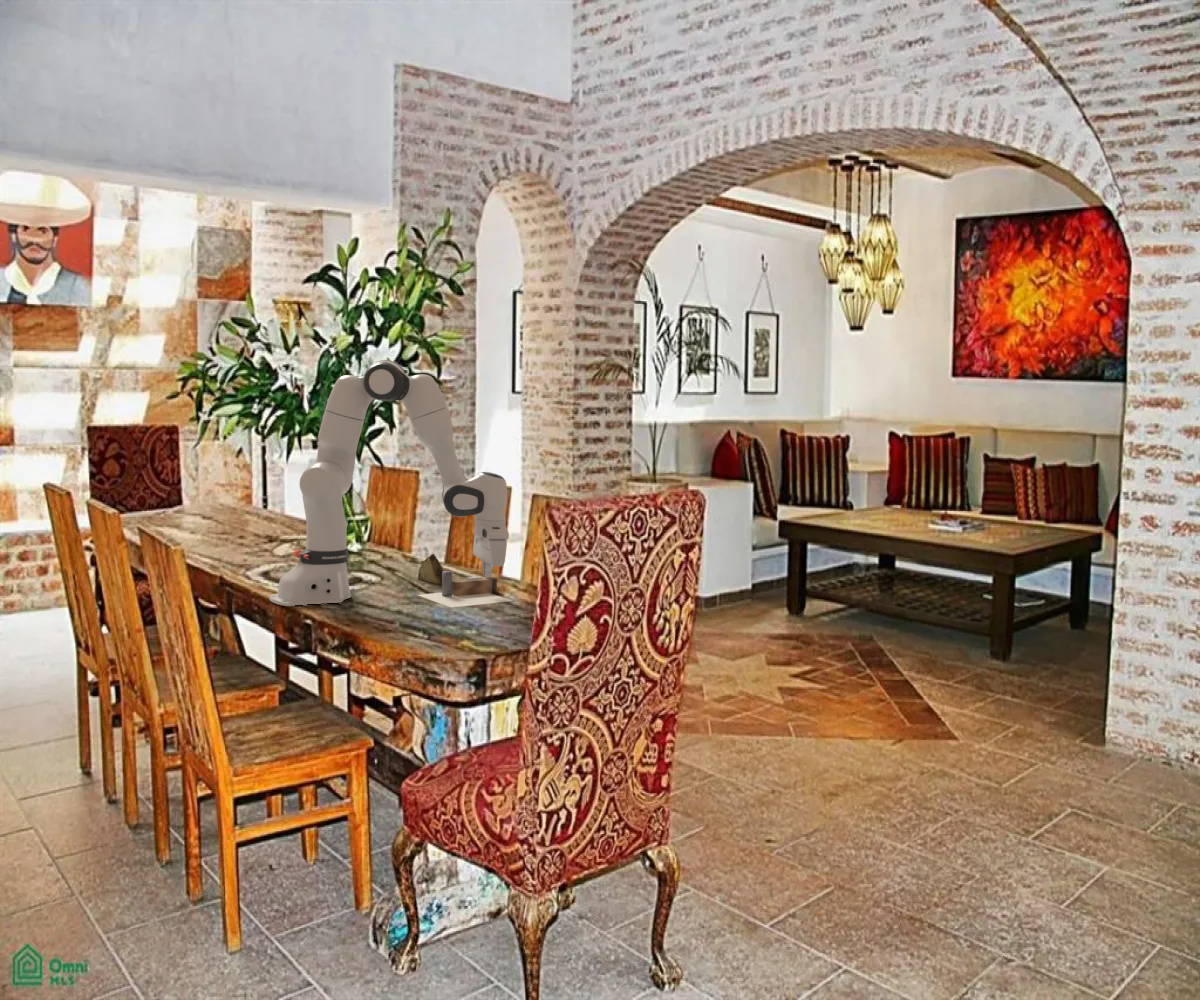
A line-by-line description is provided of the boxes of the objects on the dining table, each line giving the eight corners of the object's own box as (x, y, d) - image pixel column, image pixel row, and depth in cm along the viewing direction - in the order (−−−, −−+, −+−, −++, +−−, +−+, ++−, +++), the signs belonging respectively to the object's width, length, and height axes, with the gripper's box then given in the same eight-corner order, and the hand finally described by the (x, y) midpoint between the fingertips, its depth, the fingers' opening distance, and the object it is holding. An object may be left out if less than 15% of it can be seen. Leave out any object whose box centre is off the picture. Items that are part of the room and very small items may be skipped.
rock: (408, 573, 349) (415, 575, 340) (424, 551, 351) (431, 552, 342) (435, 593, 352) (443, 595, 343) (451, 571, 354) (459, 572, 345)
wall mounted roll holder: (451, 610, 308) (451, 582, 307) (416, 597, 324) (417, 571, 323) (512, 603, 320) (513, 576, 319) (476, 591, 336) (477, 566, 335)
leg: (455, 596, 323) (455, 582, 323) (450, 594, 326) (450, 580, 326) (498, 592, 331) (499, 579, 331) (493, 590, 334) (493, 577, 333)
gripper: (469, 523, 329) (466, 570, 331) (489, 534, 311) (486, 583, 312) (489, 524, 332) (487, 570, 333) (511, 534, 313) (508, 583, 315)
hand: (487, 576), depth 323 cm, fingers closed
